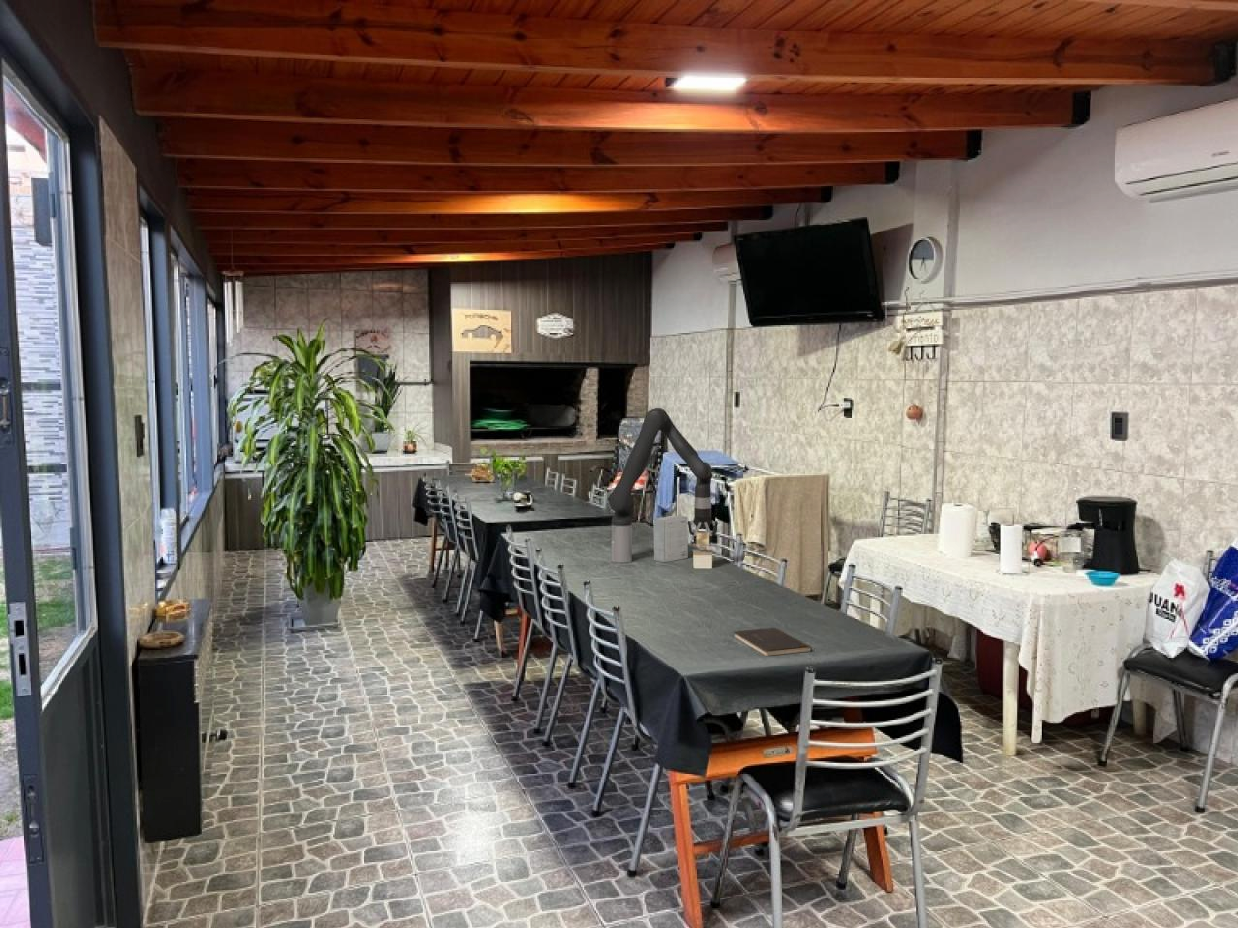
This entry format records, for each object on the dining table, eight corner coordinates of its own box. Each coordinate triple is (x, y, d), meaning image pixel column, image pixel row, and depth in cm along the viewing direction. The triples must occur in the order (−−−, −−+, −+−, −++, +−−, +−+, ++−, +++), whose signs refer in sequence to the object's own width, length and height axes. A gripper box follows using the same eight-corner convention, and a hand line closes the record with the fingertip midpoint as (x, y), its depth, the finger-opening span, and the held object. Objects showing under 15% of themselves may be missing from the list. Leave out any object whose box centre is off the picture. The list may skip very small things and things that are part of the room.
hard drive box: (677, 556, 445) (677, 514, 443) (688, 558, 439) (688, 516, 437) (653, 560, 435) (653, 518, 433) (664, 562, 429) (664, 520, 427)
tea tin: (693, 568, 417) (693, 553, 416) (692, 564, 425) (692, 549, 424) (712, 568, 417) (712, 553, 416) (711, 564, 425) (711, 549, 424)
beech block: (696, 546, 417) (696, 533, 417) (696, 544, 423) (696, 531, 422) (709, 546, 417) (709, 533, 416) (708, 544, 422) (708, 531, 422)
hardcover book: (765, 657, 286) (765, 650, 286) (733, 638, 308) (733, 631, 308) (811, 652, 291) (811, 645, 291) (776, 633, 313) (776, 627, 313)
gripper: (687, 508, 415) (686, 545, 416) (719, 507, 414) (719, 545, 416) (686, 505, 422) (686, 542, 424) (718, 505, 422) (717, 542, 423)
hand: (702, 543), depth 420 cm, fingers closed on beech block, 5 cm apart
